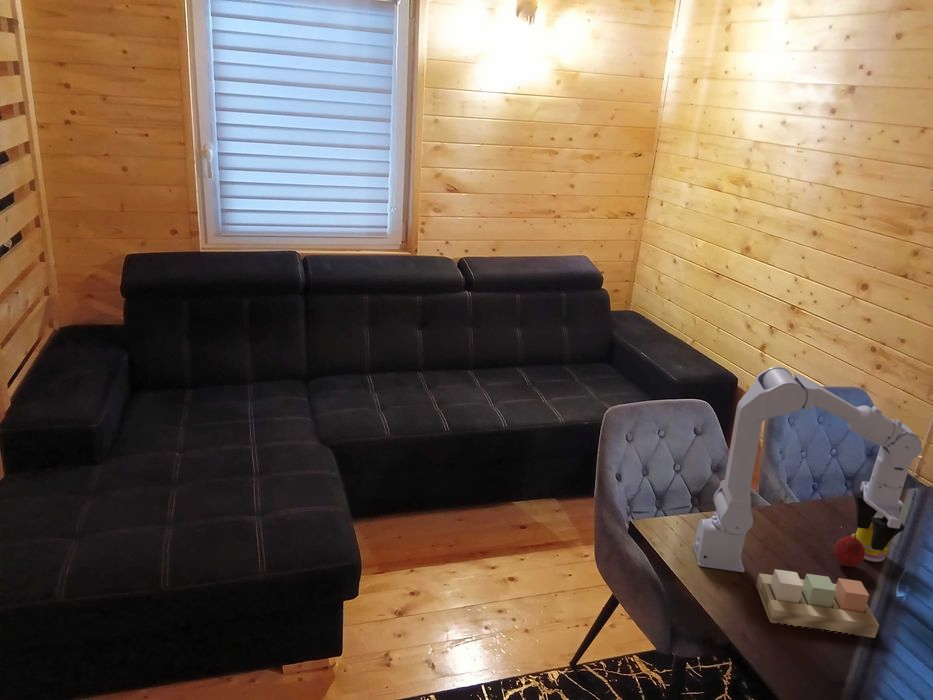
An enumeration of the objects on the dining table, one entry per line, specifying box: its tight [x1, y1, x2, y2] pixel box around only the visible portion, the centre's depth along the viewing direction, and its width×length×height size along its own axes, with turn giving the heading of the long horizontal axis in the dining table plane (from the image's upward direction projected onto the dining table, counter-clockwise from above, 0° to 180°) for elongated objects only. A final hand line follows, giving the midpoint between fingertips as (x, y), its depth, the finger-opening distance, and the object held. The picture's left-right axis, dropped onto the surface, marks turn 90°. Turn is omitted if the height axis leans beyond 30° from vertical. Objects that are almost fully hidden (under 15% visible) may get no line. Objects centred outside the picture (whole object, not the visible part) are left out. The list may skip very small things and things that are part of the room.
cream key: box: [770, 568, 803, 603], centre depth 135 cm, size 4×4×4 cm
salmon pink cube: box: [835, 577, 870, 612], centre depth 134 cm, size 4×4×4 cm
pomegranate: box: [833, 533, 865, 567], centre depth 149 cm, size 6×6×8 cm
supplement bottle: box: [855, 511, 892, 563], centre depth 153 cm, size 7×7×13 cm
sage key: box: [802, 573, 836, 608], centre depth 135 cm, size 4×4×4 cm
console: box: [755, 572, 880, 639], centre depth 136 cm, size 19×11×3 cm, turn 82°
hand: (869, 538), depth 143 cm, fingers open, 7 cm apart
